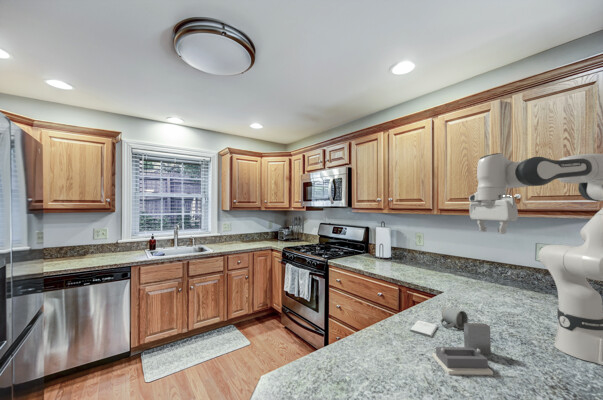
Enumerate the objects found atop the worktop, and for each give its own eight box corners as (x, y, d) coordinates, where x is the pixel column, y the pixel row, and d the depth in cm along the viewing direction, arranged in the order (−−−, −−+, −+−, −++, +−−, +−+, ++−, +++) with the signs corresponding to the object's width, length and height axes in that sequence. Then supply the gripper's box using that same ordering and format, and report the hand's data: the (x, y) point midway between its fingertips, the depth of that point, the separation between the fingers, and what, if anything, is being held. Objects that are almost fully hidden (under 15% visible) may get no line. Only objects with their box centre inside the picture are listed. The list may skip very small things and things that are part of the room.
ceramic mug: (451, 320, 121) (451, 303, 121) (468, 327, 113) (468, 309, 114) (435, 324, 117) (435, 307, 117) (452, 331, 109) (451, 313, 109)
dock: (471, 356, 90) (471, 341, 90) (493, 374, 80) (492, 358, 80) (432, 356, 90) (432, 341, 90) (448, 374, 80) (448, 357, 80)
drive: (485, 350, 94) (485, 323, 94) (490, 354, 92) (490, 326, 92) (464, 350, 94) (463, 323, 95) (468, 354, 92) (468, 326, 92)
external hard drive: (410, 332, 109) (418, 323, 118) (431, 339, 103) (437, 328, 113) (410, 329, 109) (418, 319, 118) (431, 335, 103) (437, 324, 113)
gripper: (523, 194, 86) (524, 235, 85) (481, 197, 106) (481, 230, 106) (504, 194, 86) (505, 234, 85) (466, 197, 106) (466, 230, 106)
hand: (491, 232), depth 96 cm, fingers open, 8 cm apart
